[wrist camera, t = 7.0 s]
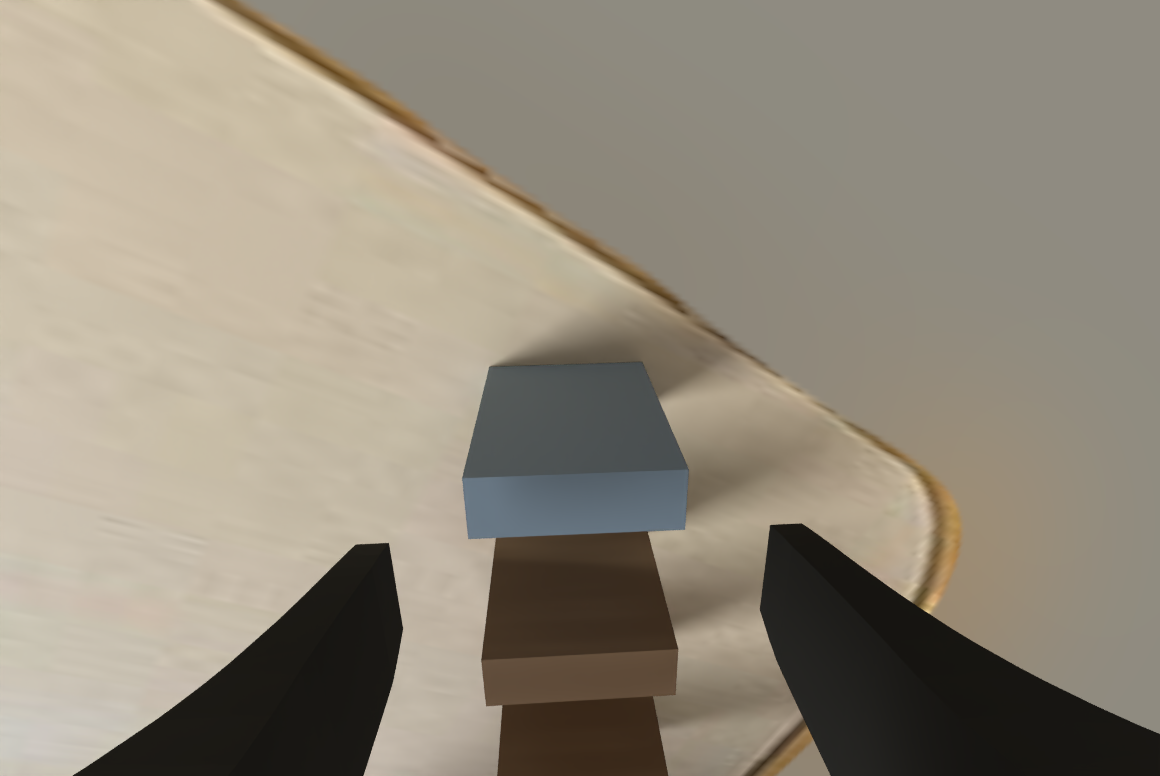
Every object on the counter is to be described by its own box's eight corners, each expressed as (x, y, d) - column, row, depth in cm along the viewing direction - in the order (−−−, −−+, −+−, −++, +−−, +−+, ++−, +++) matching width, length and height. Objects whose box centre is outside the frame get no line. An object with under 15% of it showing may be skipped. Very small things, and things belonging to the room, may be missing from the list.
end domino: (641, 406, 21) (685, 529, 14) (492, 411, 20) (468, 538, 14) (642, 362, 20) (688, 469, 13) (489, 366, 20) (462, 478, 13)
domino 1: (637, 535, 23) (675, 694, 16) (502, 541, 22) (486, 705, 16) (638, 498, 22) (678, 649, 15) (500, 504, 22) (481, 660, 15)
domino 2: (635, 641, 25) (667, 821, 18) (511, 648, 24) (499, 833, 18) (636, 610, 24) (670, 785, 17) (509, 617, 24) (495, 797, 17)
